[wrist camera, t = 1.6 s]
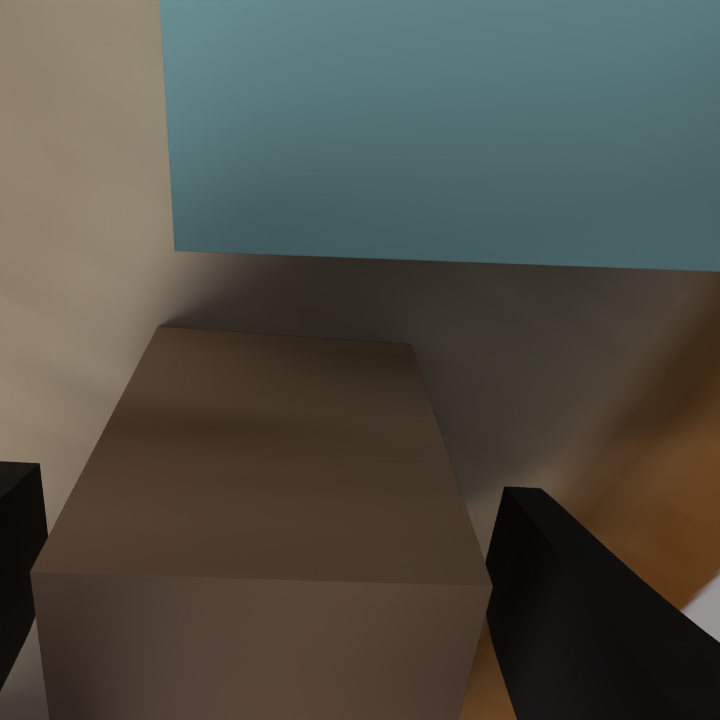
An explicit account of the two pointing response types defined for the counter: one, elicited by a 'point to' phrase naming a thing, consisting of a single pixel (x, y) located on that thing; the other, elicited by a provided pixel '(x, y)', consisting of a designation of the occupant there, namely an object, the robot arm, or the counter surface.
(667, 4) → the teal base box
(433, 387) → the counter surface
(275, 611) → the walnut block
